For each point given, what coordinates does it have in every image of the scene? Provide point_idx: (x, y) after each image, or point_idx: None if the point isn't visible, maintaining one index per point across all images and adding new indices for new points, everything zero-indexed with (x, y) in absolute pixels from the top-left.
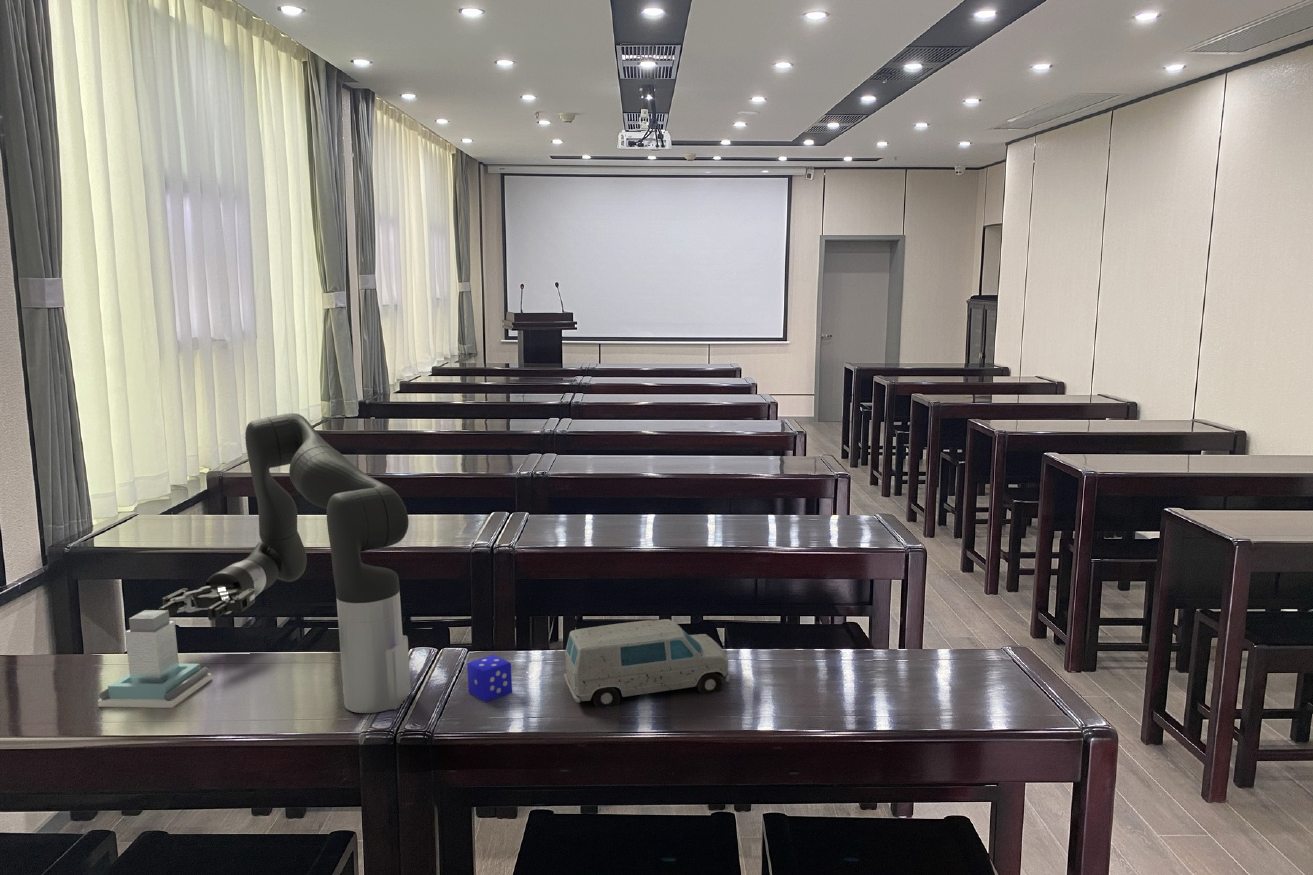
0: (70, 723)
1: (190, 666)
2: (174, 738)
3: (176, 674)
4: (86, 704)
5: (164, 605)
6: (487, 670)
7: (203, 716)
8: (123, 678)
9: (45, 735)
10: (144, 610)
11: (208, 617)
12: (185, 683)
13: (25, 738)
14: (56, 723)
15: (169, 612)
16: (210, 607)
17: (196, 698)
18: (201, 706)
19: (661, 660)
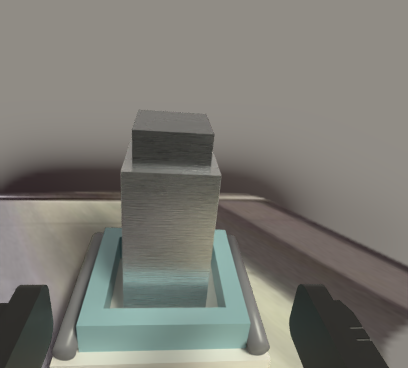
0: (227, 219)
1: (97, 308)
2: (47, 195)
3: (112, 269)
4: (264, 260)
5: (334, 307)
6: None
7: (19, 233)
8: (223, 252)
9: (229, 201)
10: (213, 133)
11: (51, 316)
12: (82, 268)
13: (247, 197)
14: (247, 219)
15: (308, 347)
16: (31, 288)
17: (56, 283)
18: (34, 258)
19: None
